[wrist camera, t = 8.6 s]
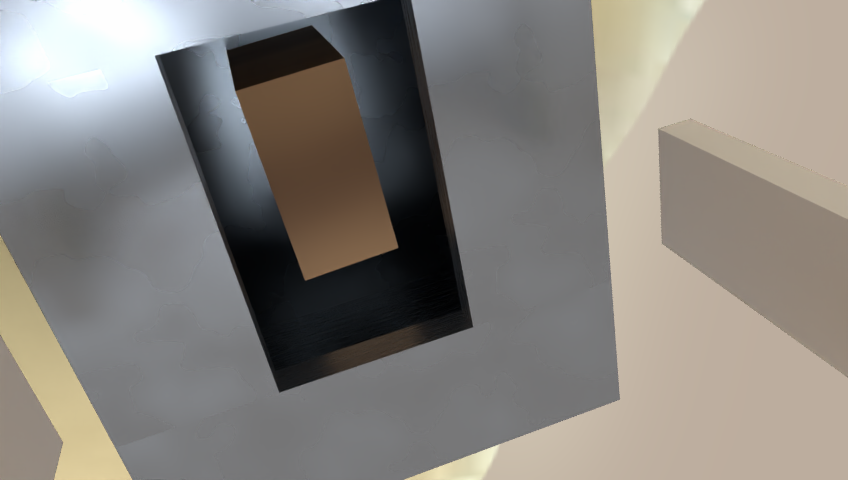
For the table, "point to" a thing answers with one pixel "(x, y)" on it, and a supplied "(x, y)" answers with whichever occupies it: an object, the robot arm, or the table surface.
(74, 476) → the table surface
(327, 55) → the block
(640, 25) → the table surface
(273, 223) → the coin box
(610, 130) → the table surface
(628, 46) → the table surface
